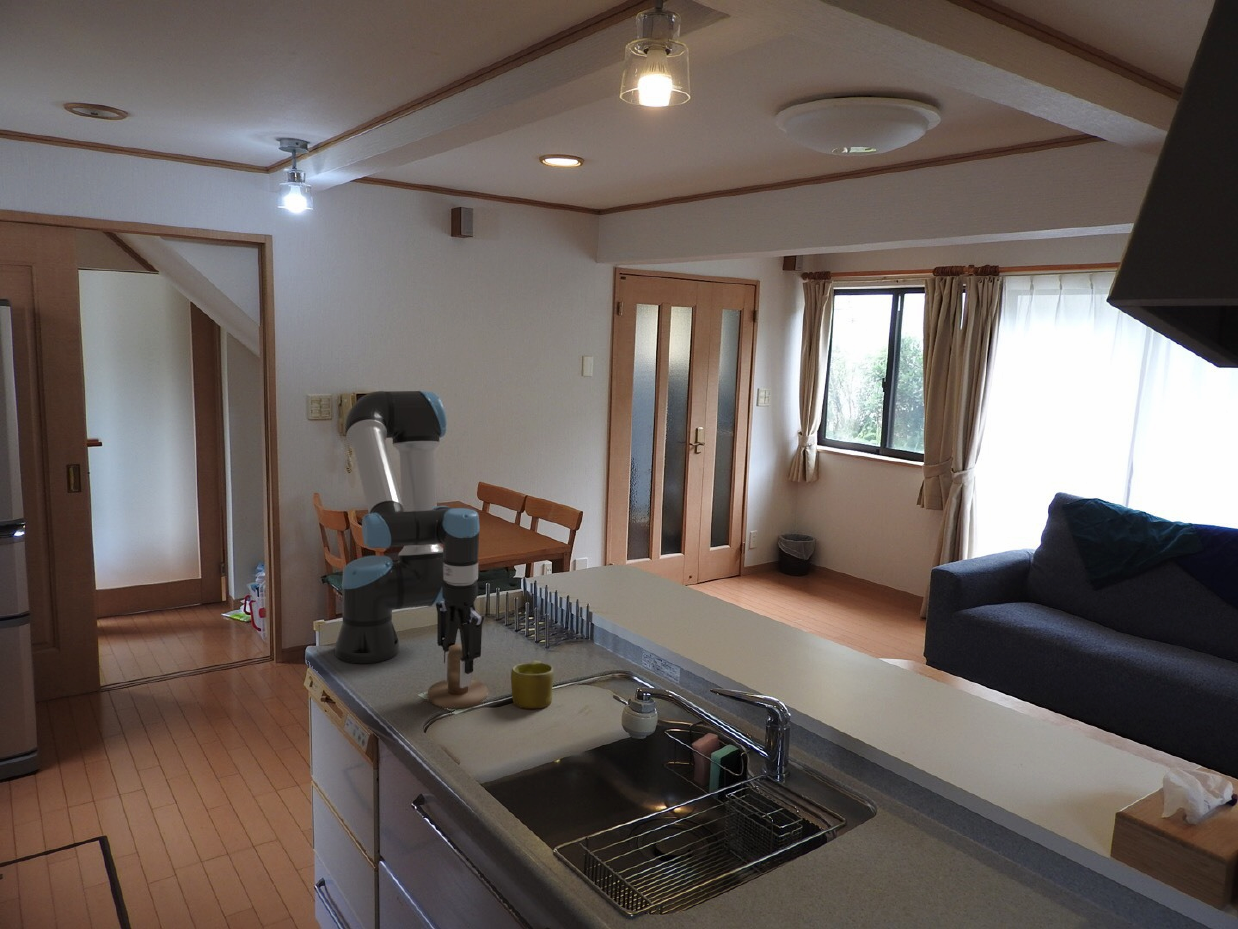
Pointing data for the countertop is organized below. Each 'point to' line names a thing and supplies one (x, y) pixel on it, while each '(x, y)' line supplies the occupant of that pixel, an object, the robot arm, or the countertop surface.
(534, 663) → the mug
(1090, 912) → the countertop surface
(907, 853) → the countertop surface
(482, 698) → the wooden peg stand
